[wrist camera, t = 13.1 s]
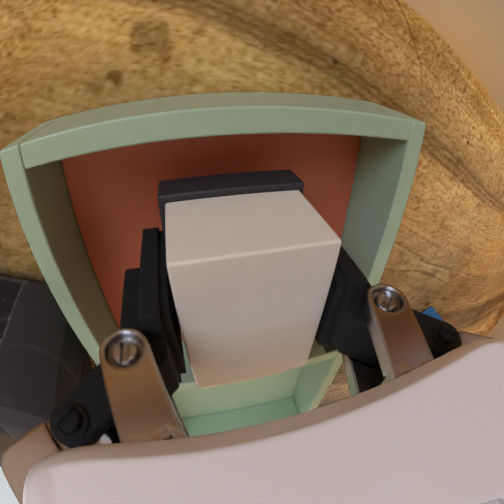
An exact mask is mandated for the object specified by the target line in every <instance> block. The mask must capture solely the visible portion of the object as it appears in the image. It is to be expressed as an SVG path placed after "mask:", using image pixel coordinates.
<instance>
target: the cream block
mask: <svg viewBox="0 0 504 504" xmlns="http://www.w3.org/2000/svg"><path fill="white" fill-rule="evenodd" d="M303 191H304V182H303V181H302V180H301V179H300V178H299V177H298V176H297V175H296V174H295V173H294V172H293V171H292V170H270V171H254V172H240V173H228V174H217V175H207V176H197V177H188V178H179V179H171V180H164V181H159V184H158V205H159V211H160V218H161V224H162V230H163V236H164V239H165V243H166V266H167V271H168V276H169V281H170V285H171V290H172V294H173V299H174V303H175V307H176V312H177V316H178V320H179V324H180V328H181V332H182V336H183V340H184V344H185V347H186V351H187V355H188V358H189V362H190V366H191V369H192V373H193V376H194V379H195V383H196V386H197V387H198V388H201V387H203V388H209V387H215V386H221V385H227V384H232V383H237V382H243V381H248V380H252V379H257V378H262V377H266V376H271V375H275V374H279V373H282V372H283V371H287V370H291V369H295V368H298V367H302V366H305V365H306V363H307V360H308V357H309V354H310V351H311V348H312V345H313V342H314V339H315V336H316V332H317V329H318V326H319V323H320V320H321V316H322V313H323V310H324V306H325V303H326V300H327V296H328V293H329V289H330V286H331V282H332V278H333V275H334V271H335V267H336V263H337V259H338V256H339V252H340V248H341V244H342V242H341V239H340V238H339V237H338V235H337V234H336V233H335V232H334V231H333V229H332V228H331V227H330V226H329V225H328V223H327V222H326V221H325V220H324V219H323V218H322V216H321V215H320V214H319V213H318V212H317V211H316V209H315V208H314V207H313V206H312V205H311V204H310V203H309V201H308V200H307V199H306V198H305V197H304V196H303Z"/></svg>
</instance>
